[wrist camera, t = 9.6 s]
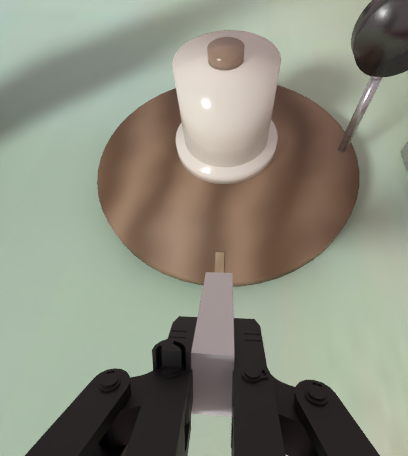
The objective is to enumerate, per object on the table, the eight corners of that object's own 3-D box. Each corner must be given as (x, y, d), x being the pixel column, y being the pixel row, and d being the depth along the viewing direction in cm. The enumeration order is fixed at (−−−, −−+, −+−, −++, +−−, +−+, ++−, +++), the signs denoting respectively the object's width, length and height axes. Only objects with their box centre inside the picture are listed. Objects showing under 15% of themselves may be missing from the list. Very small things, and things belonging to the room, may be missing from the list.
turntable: (72, 280, 28) (64, 274, 26) (128, 91, 41) (125, 80, 40) (380, 293, 25) (390, 287, 24) (332, 87, 39) (336, 75, 37)
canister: (169, 181, 31) (145, 90, 21) (185, 111, 36) (170, 13, 26) (275, 187, 29) (298, 92, 20) (275, 113, 35) (293, 11, 25)
